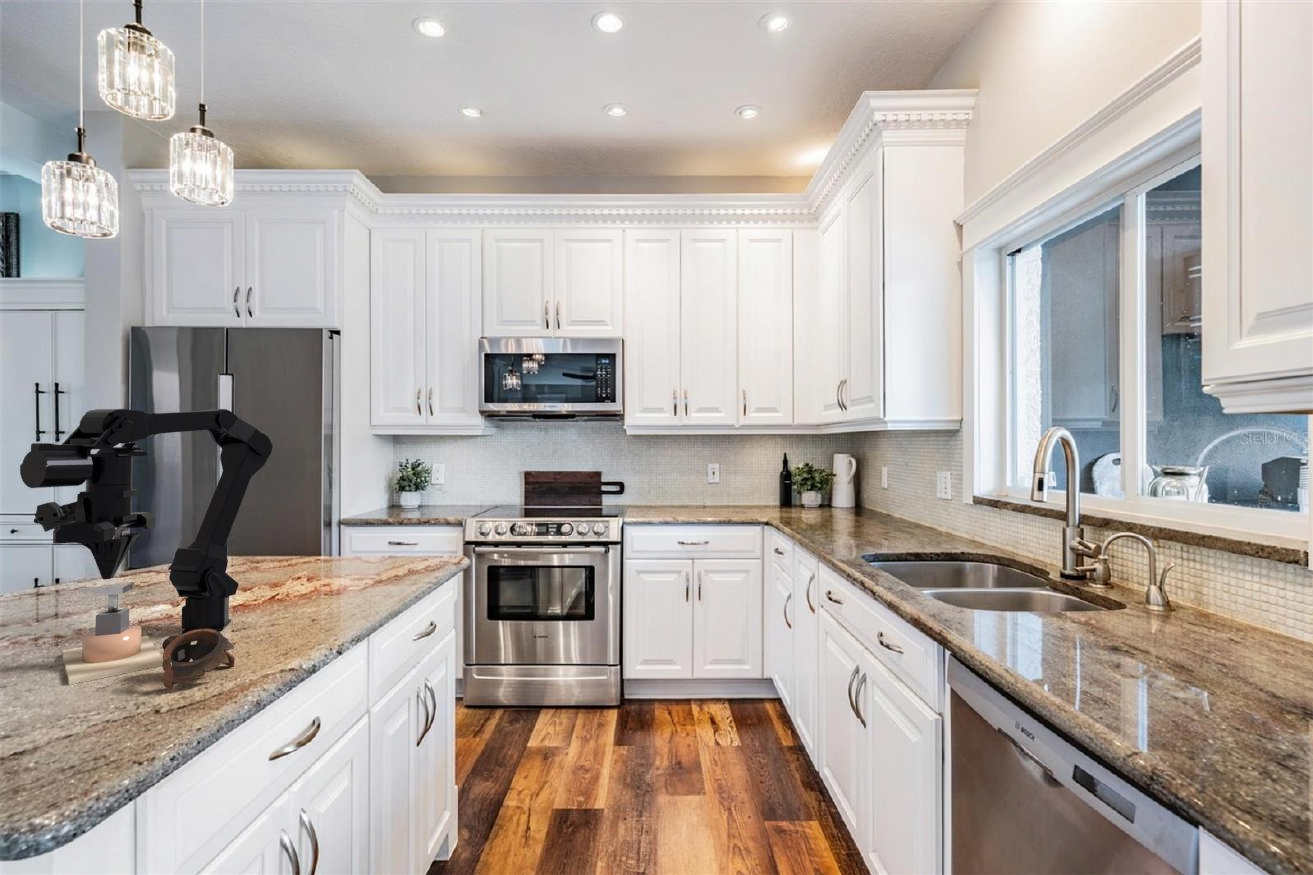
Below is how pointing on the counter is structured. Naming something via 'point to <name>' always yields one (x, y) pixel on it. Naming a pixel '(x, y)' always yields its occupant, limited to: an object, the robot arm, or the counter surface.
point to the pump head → (109, 593)
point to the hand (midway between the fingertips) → (107, 578)
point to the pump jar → (111, 638)
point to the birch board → (109, 663)
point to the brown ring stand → (194, 655)
